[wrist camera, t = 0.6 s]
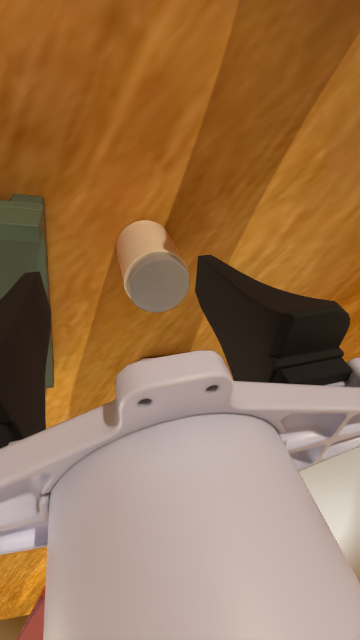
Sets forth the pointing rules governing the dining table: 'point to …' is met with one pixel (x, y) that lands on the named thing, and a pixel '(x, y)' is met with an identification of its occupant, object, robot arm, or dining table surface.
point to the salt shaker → (151, 267)
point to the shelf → (24, 251)
